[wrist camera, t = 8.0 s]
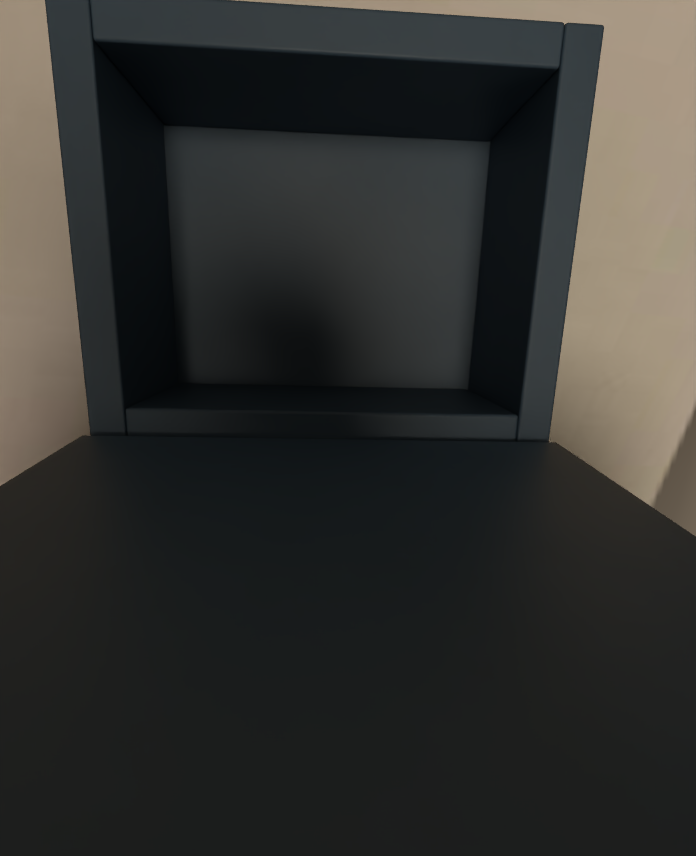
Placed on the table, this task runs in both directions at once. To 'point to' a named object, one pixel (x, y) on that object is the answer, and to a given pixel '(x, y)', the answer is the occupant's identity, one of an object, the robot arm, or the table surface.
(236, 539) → the lid
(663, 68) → the table surface
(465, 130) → the box
